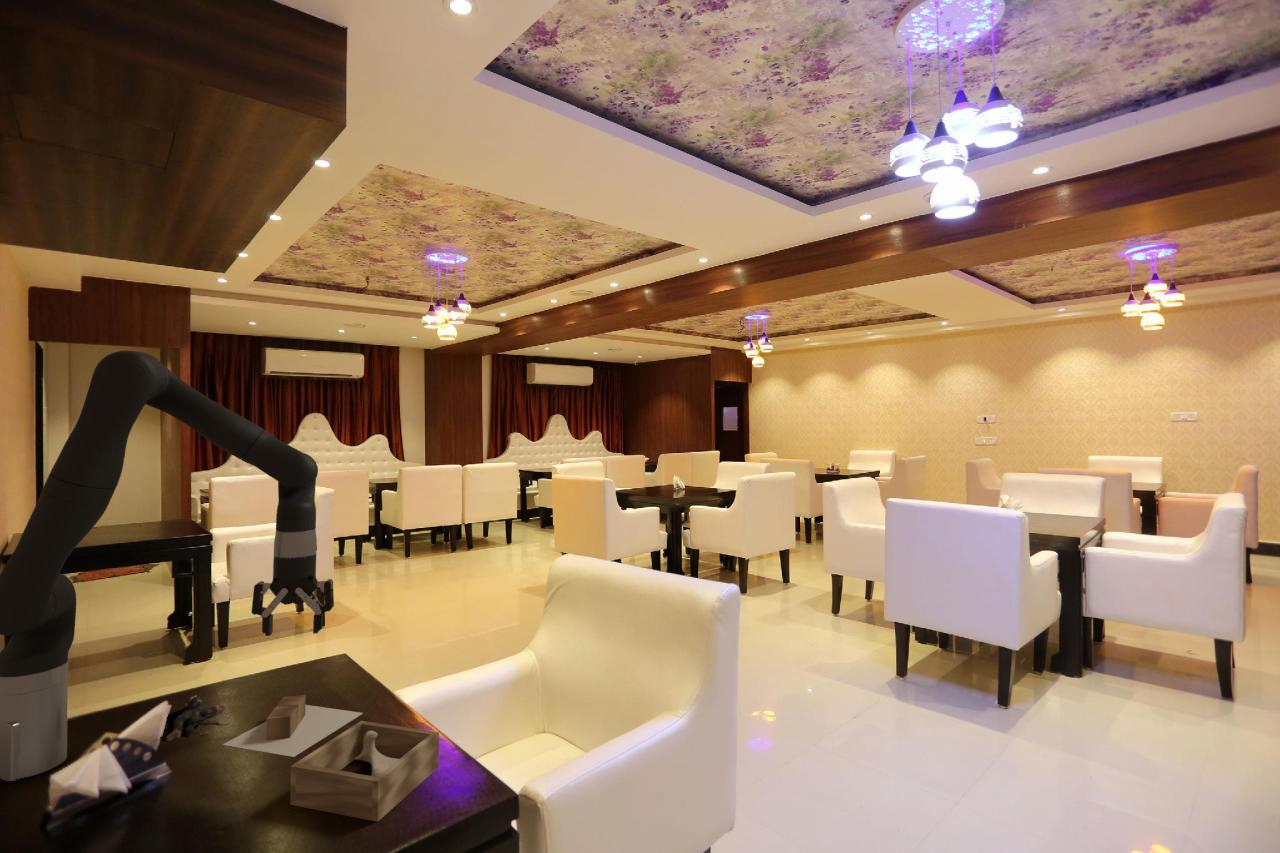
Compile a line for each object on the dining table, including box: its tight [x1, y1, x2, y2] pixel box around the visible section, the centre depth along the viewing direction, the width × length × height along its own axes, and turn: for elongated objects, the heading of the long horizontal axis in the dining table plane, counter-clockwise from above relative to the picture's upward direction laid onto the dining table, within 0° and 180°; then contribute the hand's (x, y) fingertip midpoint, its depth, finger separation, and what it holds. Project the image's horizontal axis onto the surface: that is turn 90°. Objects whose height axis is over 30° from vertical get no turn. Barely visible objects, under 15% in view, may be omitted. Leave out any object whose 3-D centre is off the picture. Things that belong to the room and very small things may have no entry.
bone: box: [355, 731, 399, 777], centre depth 106 cm, size 10×6×10 cm
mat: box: [222, 704, 364, 758], centre depth 122 cm, size 18×16×1 cm
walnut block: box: [265, 694, 307, 740], centre depth 123 cm, size 4×4×10 cm
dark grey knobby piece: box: [162, 694, 230, 742], centre depth 124 cm, size 12×10×12 cm
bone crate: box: [289, 720, 440, 822], centre depth 104 cm, size 16×16×6 cm
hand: (292, 633), depth 125 cm, fingers open, 8 cm apart
